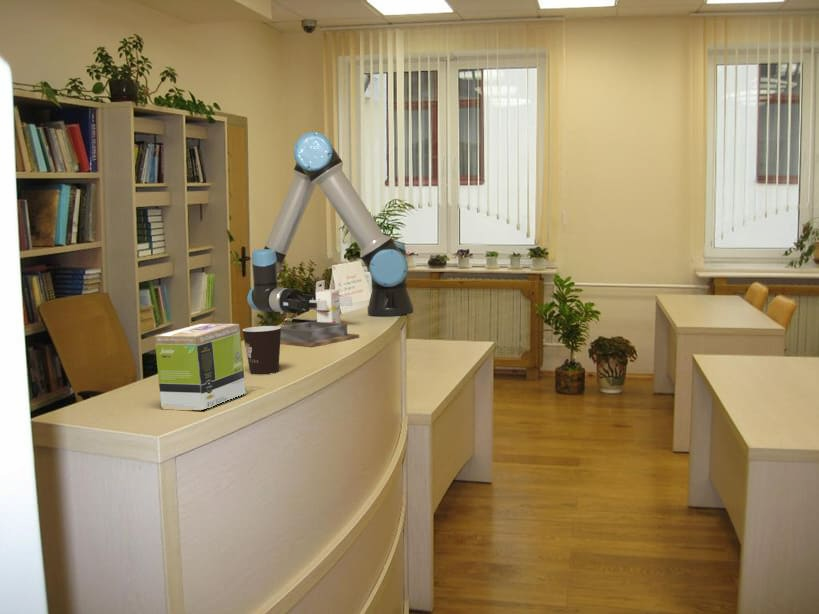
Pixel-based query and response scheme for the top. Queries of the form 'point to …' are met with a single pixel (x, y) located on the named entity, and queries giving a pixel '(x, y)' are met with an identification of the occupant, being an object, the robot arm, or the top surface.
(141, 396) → the top surface
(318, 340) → the cartridge holder
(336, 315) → the ink cartridge box
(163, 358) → the tea box
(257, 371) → the coffee mug
